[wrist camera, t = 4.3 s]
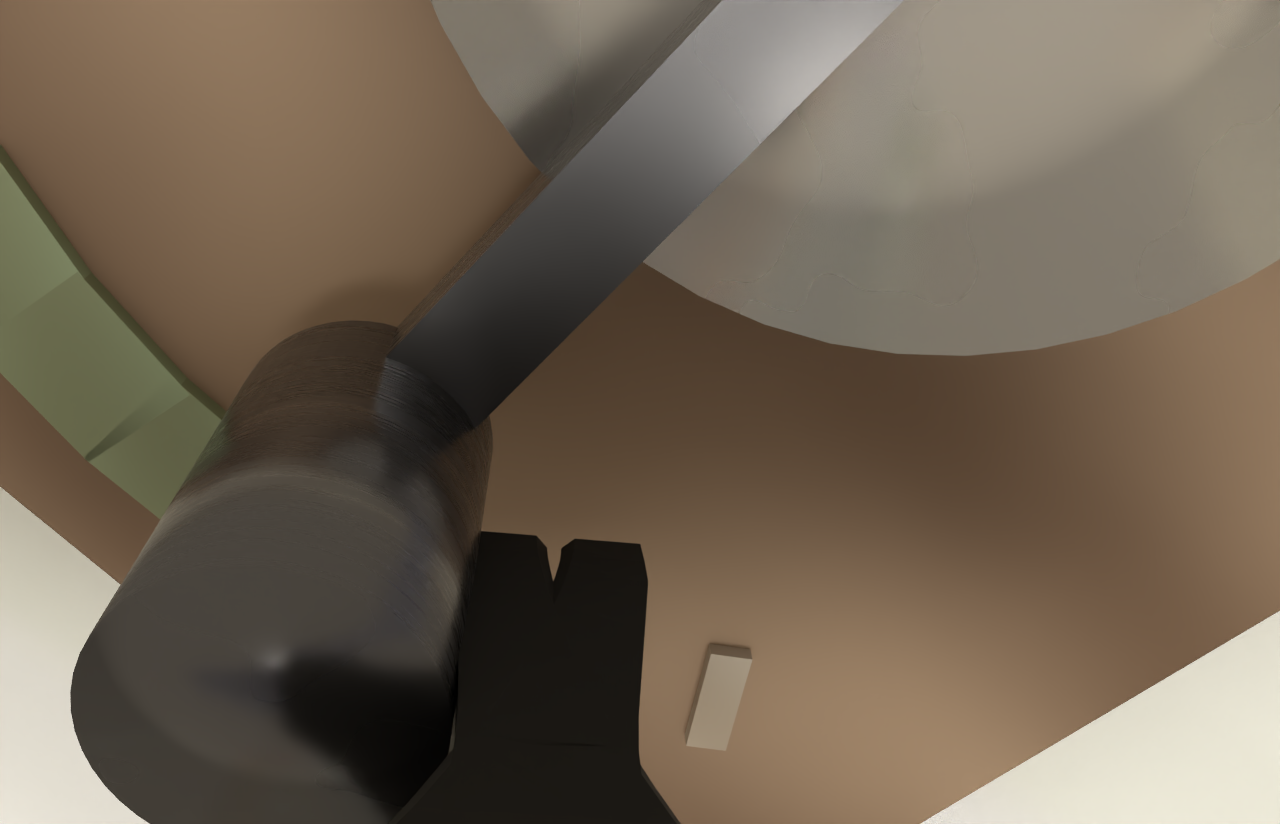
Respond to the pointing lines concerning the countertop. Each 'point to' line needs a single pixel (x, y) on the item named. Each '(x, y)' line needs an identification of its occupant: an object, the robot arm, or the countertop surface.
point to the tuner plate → (628, 412)
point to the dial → (696, 259)
